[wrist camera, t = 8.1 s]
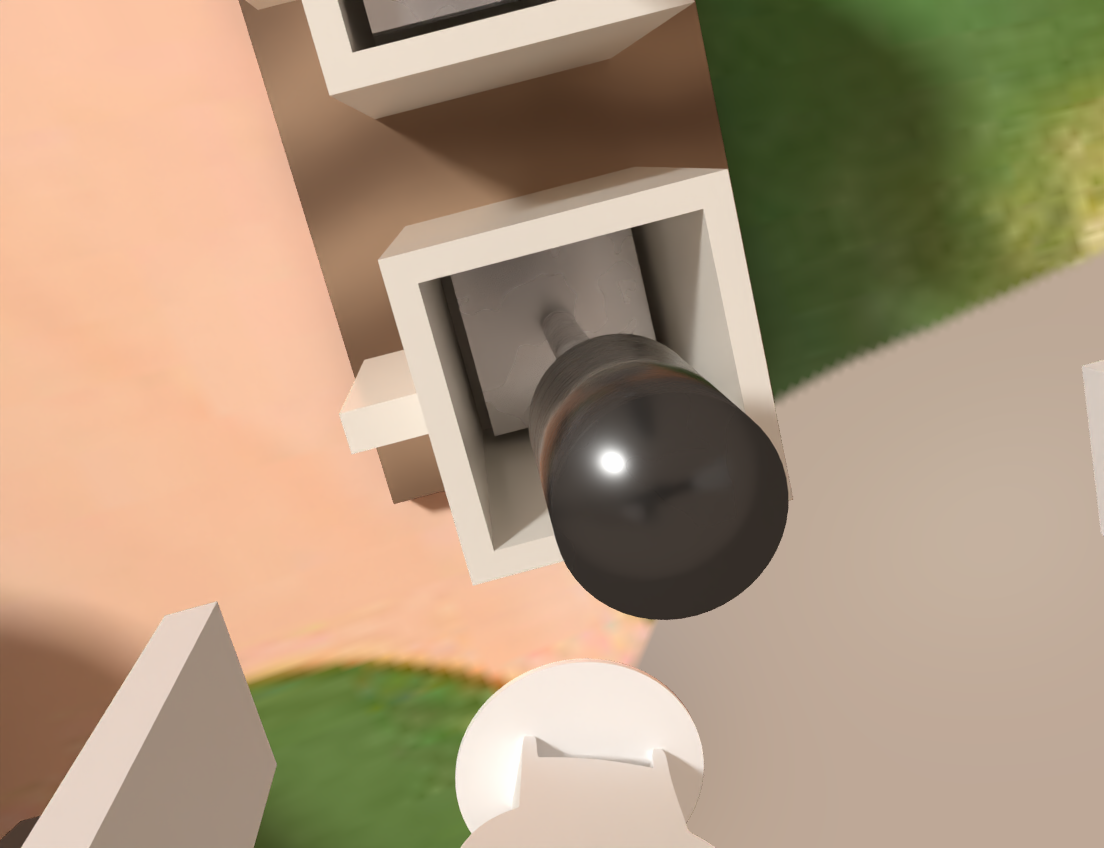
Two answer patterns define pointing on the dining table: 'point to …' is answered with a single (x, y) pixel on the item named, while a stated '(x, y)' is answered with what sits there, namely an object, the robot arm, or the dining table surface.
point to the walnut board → (467, 162)
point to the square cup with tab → (448, 366)
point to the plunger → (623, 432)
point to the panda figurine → (581, 762)
